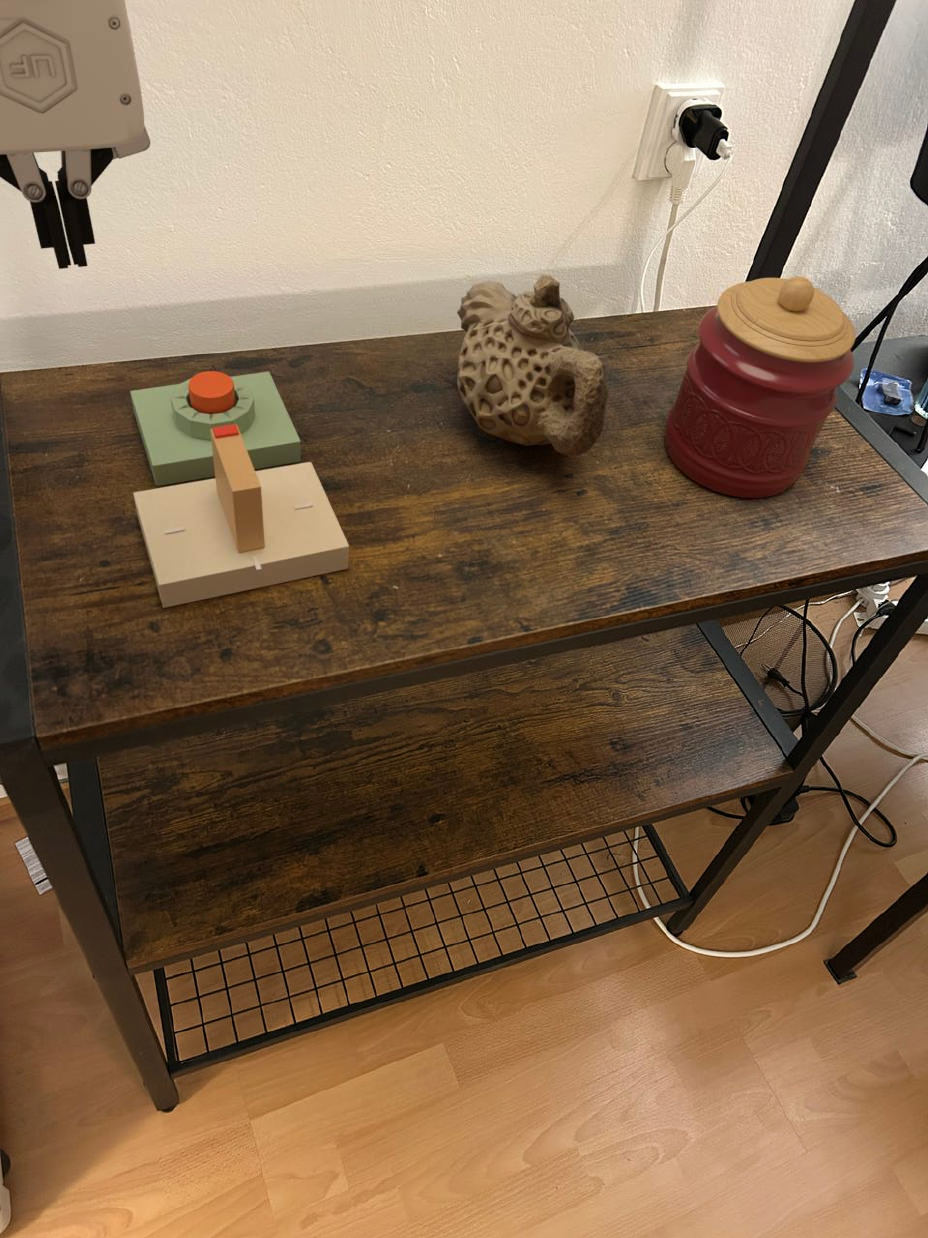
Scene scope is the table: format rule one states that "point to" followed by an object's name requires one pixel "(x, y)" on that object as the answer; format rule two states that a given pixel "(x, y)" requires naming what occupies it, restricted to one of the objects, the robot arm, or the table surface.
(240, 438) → the handle
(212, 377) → the button
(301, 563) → the panel
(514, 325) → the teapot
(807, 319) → the kitchen canister
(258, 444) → the button block
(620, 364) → the table surface
